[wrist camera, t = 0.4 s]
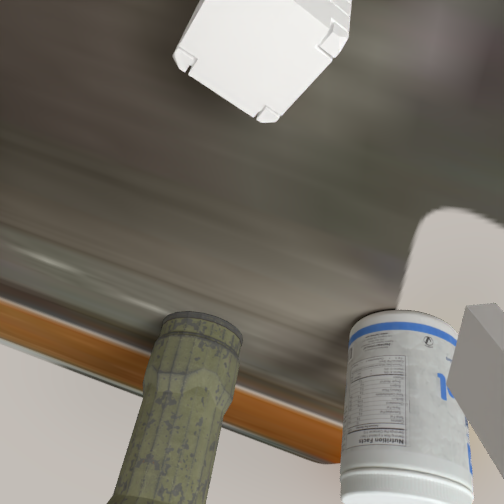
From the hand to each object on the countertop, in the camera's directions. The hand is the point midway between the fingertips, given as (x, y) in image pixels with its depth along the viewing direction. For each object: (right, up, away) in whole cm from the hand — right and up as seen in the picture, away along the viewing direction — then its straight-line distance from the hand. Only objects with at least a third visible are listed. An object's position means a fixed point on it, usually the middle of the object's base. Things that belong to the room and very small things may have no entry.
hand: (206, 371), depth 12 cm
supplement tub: (+15, -4, +31) cm, 35 cm away
